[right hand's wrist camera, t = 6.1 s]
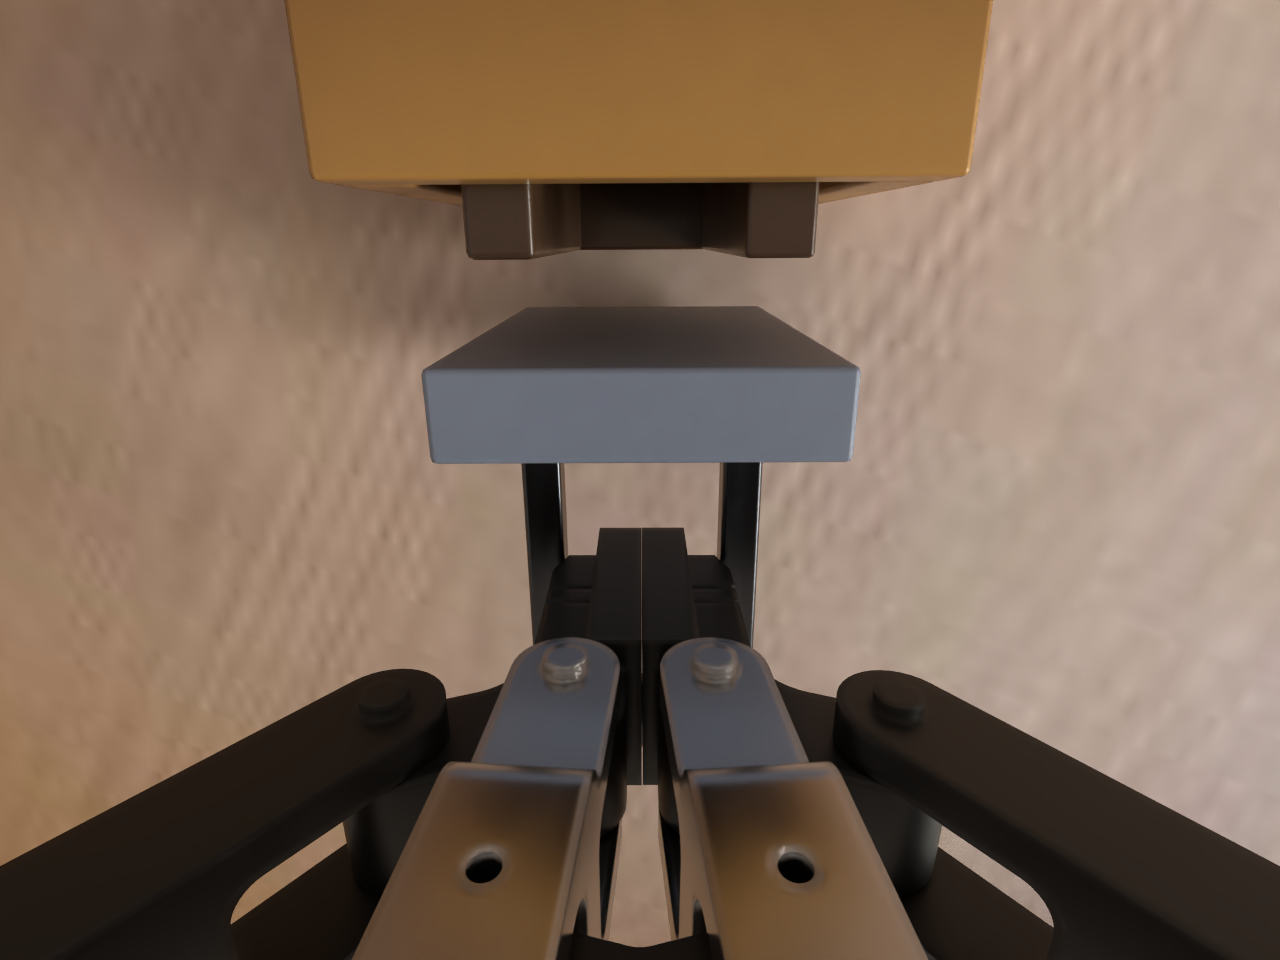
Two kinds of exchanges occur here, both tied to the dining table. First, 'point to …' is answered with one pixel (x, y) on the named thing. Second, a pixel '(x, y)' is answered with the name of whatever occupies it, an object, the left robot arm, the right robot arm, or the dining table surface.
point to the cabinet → (638, 92)
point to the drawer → (641, 361)
